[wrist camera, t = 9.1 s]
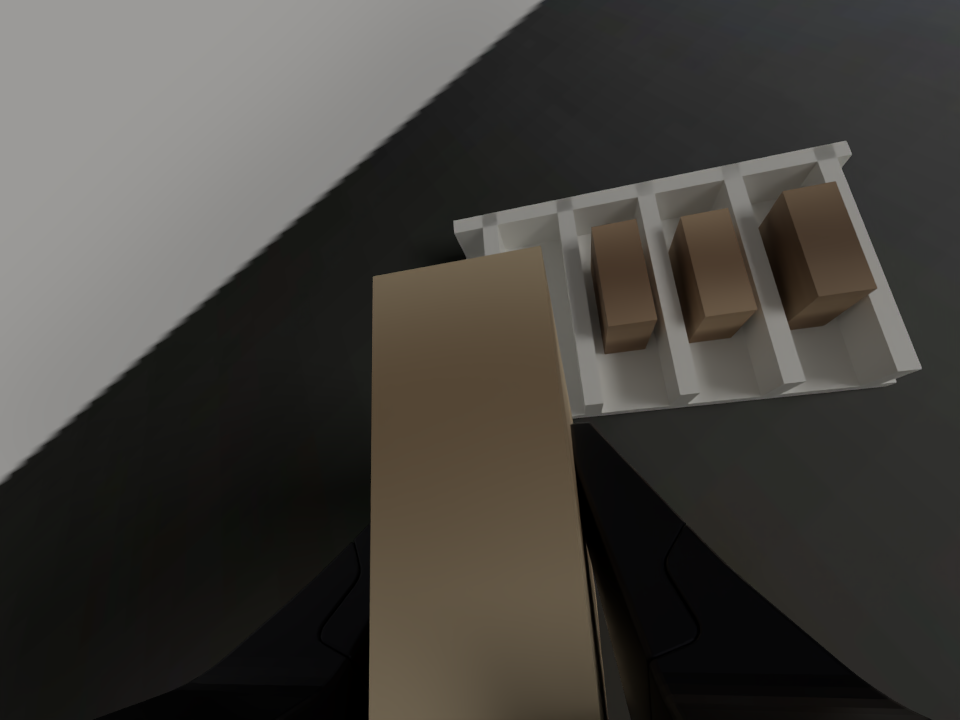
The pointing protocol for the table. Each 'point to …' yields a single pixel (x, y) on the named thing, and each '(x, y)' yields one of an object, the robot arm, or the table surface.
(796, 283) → the walnut offcut
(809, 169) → the offcut rack
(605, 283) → the walnut offcut
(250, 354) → the table surface
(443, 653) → the oak board
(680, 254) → the walnut offcut
